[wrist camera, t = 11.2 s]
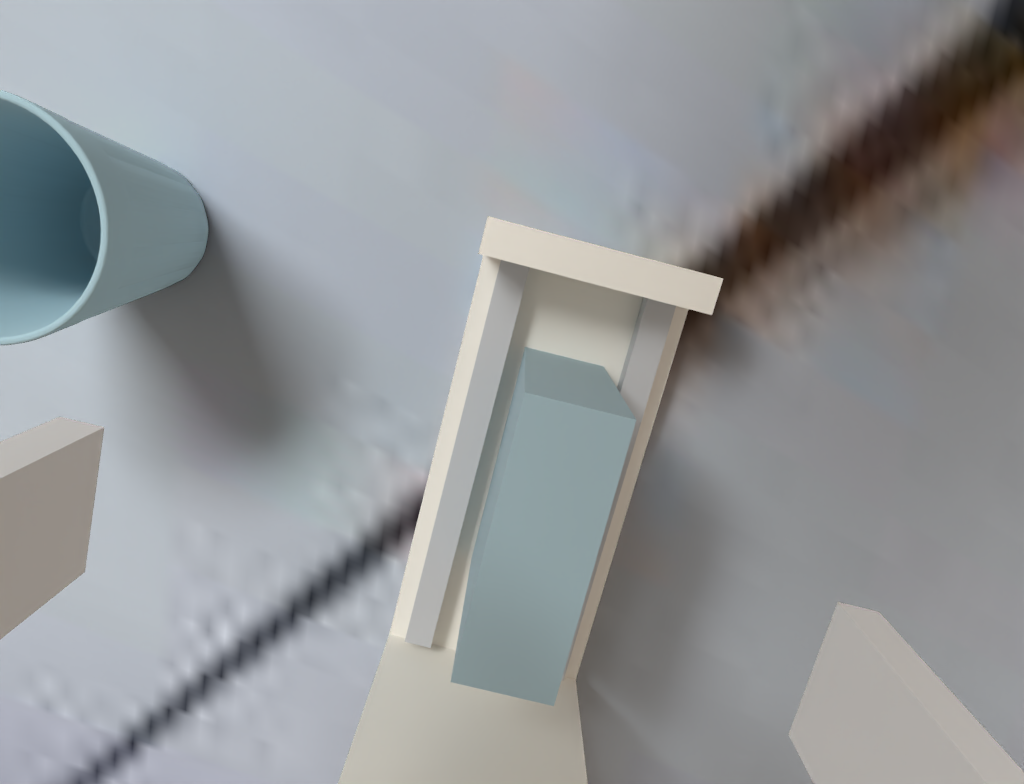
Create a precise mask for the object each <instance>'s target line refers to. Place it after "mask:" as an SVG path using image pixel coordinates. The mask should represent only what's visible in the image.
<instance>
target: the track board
mask: <svg viewBox="0 0 1024 784" xmlns="http://www.w3.org/2000/svg"><path fill="white" fill-rule="evenodd" d="M478 254H481V255H483V258H482V262H481V266H480V270H479V274H478V279H477V283H476V287H475V291H474V295H473V299H472V303H471V307H470V311H469V315H468V319H467V323H466V327H465V331H464V335H463V339H462V343H461V347H460V351H459V355H458V359H457V363H456V367H455V371H454V375H453V379H452V383H451V387H450V391H449V396H448V400H447V404H446V408H445V412H444V416H443V420H442V424H441V428H440V432H439V436H438V440H437V444H436V448H435V452H434V456H433V460H432V464H431V468H430V472H429V476H428V480H427V484H426V488H425V492H424V496H423V500H422V504H421V509H420V513H419V517H418V521H417V525H416V529H415V533H414V537H413V541H412V545H411V549H410V553H409V557H408V561H407V565H406V569H405V573H404V577H403V581H402V585H401V589H400V593H399V597H398V601H397V605H396V609H395V613H394V617H393V622H392V626H391V630H390V634H389V637H388V640H387V642H386V645H385V648H384V651H383V654H382V657H381V660H380V663H379V666H378V669H377V672H376V674H375V677H374V680H373V683H372V686H371V689H370V692H369V695H368V698H367V701H366V704H365V707H364V709H363V712H362V715H361V718H360V721H359V724H358V727H357V730H356V733H355V736H354V739H353V741H352V744H351V747H350V750H349V753H348V756H347V759H346V762H345V765H344V768H343V771H342V773H341V776H340V779H339V782H338V784H588V782H587V773H586V764H585V755H584V747H583V738H582V729H581V721H580V712H579V703H578V694H577V686H576V677H577V674H578V671H579V668H580V664H581V661H582V658H583V654H584V651H585V648H586V645H587V641H588V638H589V635H590V631H591V628H592V625H593V622H594V618H595V615H596V612H597V608H598V605H599V602H600V599H601V595H602V592H603V589H604V585H605V582H606V579H607V576H608V572H609V569H610V566H611V562H612V559H613V556H614V553H615V549H616V546H617V543H618V539H619V536H620V533H621V530H622V526H623V523H624V520H625V516H626V513H627V510H628V507H629V503H630V500H631V497H632V493H633V490H634V487H635V484H636V480H637V477H638V474H639V470H640V467H641V464H642V461H643V457H644V454H645V451H646V447H647V444H648V441H649V438H650V434H651V431H652V428H653V424H654V421H655V418H656V415H657V411H658V408H659V405H660V401H661V398H662V395H663V392H664V388H665V385H666V382H667V378H668V375H669V372H670V369H671V365H672V362H673V359H674V355H675V352H676V349H677V346H678V342H679V339H680V336H681V332H682V329H683V326H684V323H685V319H686V316H687V313H688V309H690V310H694V311H698V312H702V313H706V314H709V315H712V314H713V310H714V307H715V304H716V301H717V297H718V294H719V291H720V288H721V285H722V281H723V278H719V277H716V276H712V275H708V274H704V273H700V272H697V271H693V270H689V269H685V268H682V267H678V266H674V265H670V264H666V263H663V262H659V261H655V260H651V259H648V258H644V257H640V256H636V255H633V254H629V253H625V252H621V251H617V250H614V249H610V248H606V247H602V246H599V245H595V244H591V243H587V242H583V241H580V240H576V239H572V238H568V237H565V236H561V235H557V234H553V233H549V232H546V231H542V230H538V229H534V228H531V227H527V226H523V225H519V224H516V223H512V222H508V221H504V220H500V219H497V218H493V217H489V216H488V217H487V221H486V225H485V229H484V233H483V237H482V241H481V245H480V249H479V253H478ZM525 347H528V348H532V349H536V350H540V351H544V352H548V353H552V354H556V355H560V356H564V357H568V358H572V359H576V360H580V361H584V362H588V363H592V364H596V365H600V366H604V368H605V369H606V371H607V373H608V374H609V376H610V378H611V379H612V381H613V382H614V384H615V386H616V387H617V389H618V391H619V392H620V394H621V396H622V397H623V399H624V400H625V402H626V404H627V405H628V407H629V409H630V410H631V412H632V413H633V415H634V417H635V418H636V423H635V427H634V430H633V434H632V437H631V441H630V444H629V447H628V451H627V454H626V458H625V461H624V465H623V468H622V472H621V475H620V479H619V482H618V486H617V489H616V493H615V496H614V499H613V503H612V506H611V510H610V513H609V517H608V520H607V524H606V527H605V531H604V534H603V538H602V541H601V545H600V548H599V551H598V555H597V558H596V562H595V565H594V569H593V572H592V576H591V579H590V583H589V586H588V590H587V593H586V597H585V600H584V603H583V607H582V610H581V614H580V617H579V621H578V624H577V628H576V631H575V635H574V638H573V642H572V645H571V649H570V652H569V655H568V659H567V662H566V666H565V669H564V673H563V676H562V680H561V683H560V687H559V690H558V694H557V697H556V701H555V704H554V706H551V705H546V704H542V703H538V702H534V701H529V700H525V699H521V698H517V697H512V696H508V695H504V694H499V693H495V692H491V691H487V690H482V689H478V688H474V687H470V686H465V685H461V684H457V683H453V682H451V677H452V671H453V665H454V659H455V653H456V647H457V641H458V635H459V629H460V623H461V617H462V611H463V605H464V599H465V593H466V587H467V581H468V575H469V570H470V564H471V558H472V554H473V550H474V546H475V542H476V538H477V534H478V530H479V526H480V522H481V518H482V514H483V511H484V507H485V503H486V499H487V495H488V491H489V487H490V483H491V479H492V475H493V471H494V467H495V463H496V459H497V455H498V451H499V448H500V444H501V440H502V436H503V432H504V428H505V424H506V420H507V416H508V412H509V408H510V404H511V400H512V396H513V392H514V388H515V384H516V381H517V377H518V373H519V369H520V365H521V361H522V357H523V353H524V349H525Z"/></svg>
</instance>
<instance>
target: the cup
mask: <svg viewBox="0 0 1024 784" xmlns="http://www.w3.org/2000/svg"><path fill="white" fill-rule="evenodd" d="M207 238H208V220H207V216H206V212H205V208H204V205H203V202H202V200H201V198H200V196H199V195H198V193H197V192H196V191H195V189H194V188H193V187H192V185H191V184H190V183H189V182H188V180H187V179H186V178H185V177H184V176H183V175H181V174H180V173H179V172H177V171H175V170H173V169H171V168H169V167H167V166H166V165H164V164H162V163H160V162H158V161H156V160H154V159H152V158H150V157H148V156H146V155H143V154H141V153H139V152H137V151H135V150H133V149H130V148H128V147H126V146H124V145H122V144H120V143H117V142H115V141H113V140H111V139H109V138H106V137H104V136H102V135H100V134H98V133H96V132H93V131H91V130H89V129H87V128H85V127H83V126H80V125H78V124H76V123H74V122H72V121H69V120H68V119H66V118H64V117H62V116H60V115H58V114H56V113H54V112H52V111H50V110H47V109H45V108H43V107H41V106H39V105H37V104H35V103H32V102H30V101H28V100H26V99H24V98H22V97H19V96H17V95H14V94H11V93H8V92H6V91H3V90H0V345H12V344H19V343H25V342H29V341H33V340H36V339H39V338H42V337H44V336H47V335H49V334H52V333H54V332H57V331H59V330H62V329H64V328H67V327H69V326H72V325H74V324H77V323H79V322H81V321H83V320H85V319H88V318H91V317H93V316H96V315H98V314H101V313H103V312H106V311H108V310H111V309H113V308H116V307H119V306H121V305H124V304H126V303H129V302H131V301H134V300H136V299H139V298H142V297H144V296H147V295H149V294H152V293H154V292H157V291H159V290H161V289H164V288H166V287H168V286H171V285H173V284H174V283H176V282H179V281H181V280H183V279H184V278H186V277H187V276H188V275H190V273H191V272H192V271H193V270H194V268H195V267H196V266H197V264H198V263H199V262H200V260H201V259H202V257H203V255H204V252H205V249H206V244H207Z"/></svg>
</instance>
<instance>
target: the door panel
mask: <svg viewBox="0 0 1024 784" xmlns="http://www.w3.org/2000/svg"><path fill="white" fill-rule="evenodd" d="M635 423H636V418H635V417H634V415H633V413H632V412H631V410H630V409H629V407H628V405H627V404H626V402H625V400H624V399H623V397H622V396H621V394H620V392H619V391H618V389H617V387H616V386H615V384H614V382H613V381H612V379H611V378H610V376H609V374H608V373H607V371H606V369H605V368H604V366H600V365H596V364H592V363H588V362H584V361H580V360H576V359H572V358H568V357H564V356H560V355H556V354H552V353H548V352H544V351H540V350H536V349H532V348H528V347H525V349H524V353H523V357H522V361H521V365H520V369H519V373H518V377H517V381H516V384H515V388H514V392H513V396H512V400H511V404H510V408H509V412H508V416H507V420H506V424H505V428H504V432H503V436H502V440H501V444H500V448H499V451H498V455H497V459H496V463H495V467H494V471H493V475H492V479H491V483H490V487H489V491H488V495H487V499H486V503H485V507H484V511H483V514H482V518H481V522H480V526H479V530H478V534H477V538H476V542H475V546H474V550H473V554H472V558H471V564H470V570H469V575H468V581H467V587H466V593H465V599H464V605H463V611H462V617H461V623H460V629H459V635H458V641H457V647H456V653H455V659H454V665H453V671H452V677H451V682H453V683H457V684H461V685H465V686H470V687H474V688H478V689H482V690H487V691H491V692H495V693H499V694H504V695H508V696H512V697H517V698H521V699H525V700H529V701H534V702H538V703H542V704H546V705H551V706H554V704H555V701H556V697H557V694H558V690H559V687H560V683H561V680H562V676H563V673H564V669H565V666H566V662H567V659H568V655H569V652H570V649H571V645H572V642H573V638H574V635H575V631H576V628H577V624H578V621H579V617H580V614H581V610H582V607H583V603H584V600H585V597H586V593H587V590H588V586H589V583H590V579H591V576H592V572H593V569H594V565H595V562H596V558H597V555H598V551H599V548H600V545H601V541H602V538H603V534H604V531H605V527H606V524H607V520H608V517H609V513H610V510H611V506H612V503H613V499H614V496H615V493H616V489H617V486H618V482H619V479H620V475H621V472H622V468H623V465H624V461H625V458H626V454H627V451H628V447H629V444H630V441H631V437H632V434H633V430H634V427H635Z"/></svg>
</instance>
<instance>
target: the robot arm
mask: <svg viewBox="0 0 1024 784" xmlns="http://www.w3.org/2000/svg"><path fill="white" fill-rule="evenodd" d="M103 432H104V427H101V426H97V425H93V424H88V423H84V422H80V421H76V420H72V419H67V418H63V417H58V418H55V419H53V420H51V421H48V422H46V423H44V424H41V425H39V426H37V427H34V428H32V429H29V430H27V431H25V432H22V433H20V434H18V435H15V436H13V437H10V438H8V439H6V440H3V441H1V442H0V639H1V638H3V637H4V636H5V635H6V634H8V633H9V632H10V631H11V630H13V629H14V628H15V627H16V626H18V625H19V624H20V623H21V622H23V621H24V620H25V619H26V618H28V617H29V616H30V615H31V614H33V613H34V612H35V611H36V610H38V609H39V608H40V607H41V606H43V605H44V604H45V603H46V602H48V601H49V600H50V599H51V598H53V597H54V596H55V595H56V594H58V593H59V592H60V591H62V590H63V589H64V588H65V587H67V586H68V585H69V584H70V583H72V582H73V581H74V580H75V579H77V578H78V577H79V576H80V575H82V574H83V573H84V572H85V567H86V559H87V552H88V544H89V537H90V530H91V522H92V515H93V507H94V500H95V492H96V485H97V477H98V470H99V462H100V455H101V447H102V440H103ZM788 735H789V736H790V738H791V740H792V742H793V744H794V746H795V748H796V750H797V752H798V754H799V756H800V758H801V760H802V762H803V764H804V766H805V768H806V770H807V772H808V774H809V776H810V777H811V779H812V781H813V783H814V784H1024V772H1023V771H1022V769H1021V768H1020V767H1019V766H1018V765H1017V764H1016V763H1015V762H1014V761H1013V759H1012V758H1011V757H1010V756H1009V755H1008V754H1007V753H1006V752H1005V751H1004V750H1003V748H1002V747H1001V746H1000V745H999V744H998V743H997V742H996V741H995V740H994V738H993V737H992V736H991V735H990V734H989V733H988V732H987V731H986V730H985V729H984V727H983V726H982V725H981V724H980V723H979V722H978V721H977V720H976V719H975V717H974V716H973V715H972V714H971V713H970V712H969V711H968V710H967V709H966V707H965V706H964V705H963V704H962V703H961V702H960V701H959V700H958V699H957V698H956V696H955V695H954V694H953V693H952V692H951V691H950V690H949V689H948V688H947V686H946V685H945V684H944V683H943V682H942V681H941V680H940V679H939V678H938V676H937V675H936V674H935V673H934V672H933V671H932V670H931V669H930V668H929V667H928V665H927V664H926V663H925V662H924V661H923V660H922V659H921V658H920V657H919V655H918V654H917V653H916V652H915V651H914V650H913V649H912V648H911V647H910V646H909V644H908V643H907V642H906V641H905V640H904V639H903V638H902V637H901V636H900V634H899V633H898V632H897V631H896V630H895V629H894V628H893V627H892V626H891V624H890V623H889V622H888V621H887V620H886V619H885V618H884V617H883V616H882V615H881V613H880V612H878V611H874V610H870V609H865V608H861V607H857V606H853V605H849V604H844V603H840V602H837V605H836V608H835V611H834V613H833V616H832V619H831V621H830V624H829V627H828V629H827V632H826V635H825V637H824V640H823V643H822V645H821V648H820V651H819V654H818V656H817V659H816V662H815V664H814V667H813V670H812V672H811V675H810V678H809V680H808V683H807V686H806V688H805V691H804V694H803V696H802V699H801V702H800V705H799V707H798V710H797V713H796V715H795V718H794V721H793V723H792V726H791V729H790V731H789V734H788Z"/></svg>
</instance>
